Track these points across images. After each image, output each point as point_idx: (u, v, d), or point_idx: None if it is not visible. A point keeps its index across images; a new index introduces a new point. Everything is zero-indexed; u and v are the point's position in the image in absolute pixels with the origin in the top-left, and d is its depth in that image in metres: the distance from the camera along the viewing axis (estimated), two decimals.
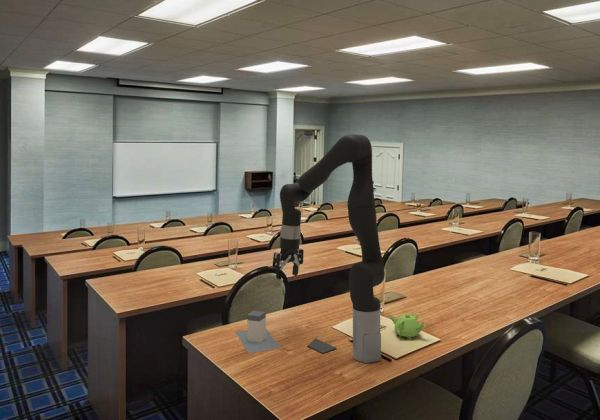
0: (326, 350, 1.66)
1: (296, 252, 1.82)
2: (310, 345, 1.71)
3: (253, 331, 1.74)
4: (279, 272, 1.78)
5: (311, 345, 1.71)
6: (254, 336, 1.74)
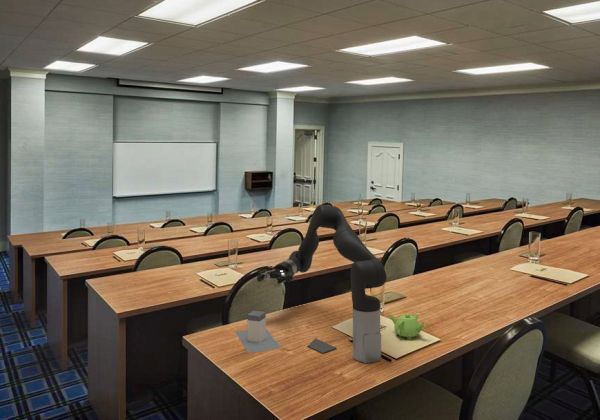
0: (326, 350, 1.66)
1: (285, 272, 1.93)
2: (310, 345, 1.71)
3: (253, 331, 1.74)
4: (260, 275, 1.89)
5: (311, 345, 1.71)
6: (254, 336, 1.74)
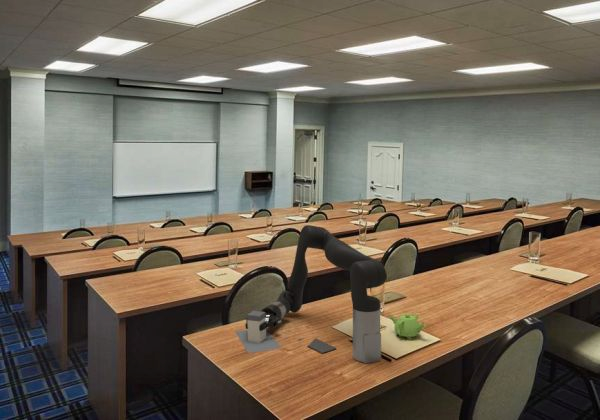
0: (326, 350, 1.66)
1: (273, 316, 1.82)
2: (310, 345, 1.71)
3: (253, 331, 1.74)
4: None
5: (311, 345, 1.71)
6: (254, 336, 1.74)
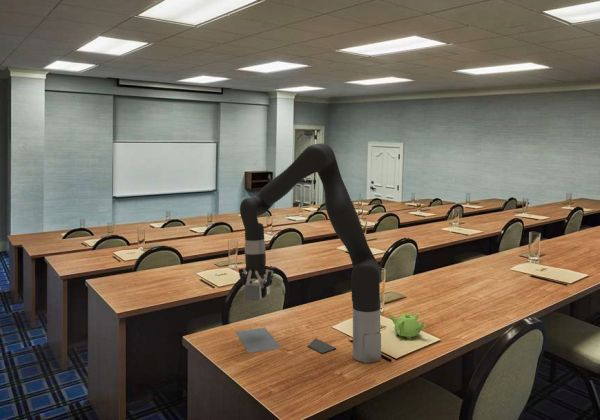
0: (325, 350, 1.66)
1: (261, 270, 1.72)
2: (310, 345, 1.71)
3: None
4: None
5: (311, 345, 1.71)
6: None
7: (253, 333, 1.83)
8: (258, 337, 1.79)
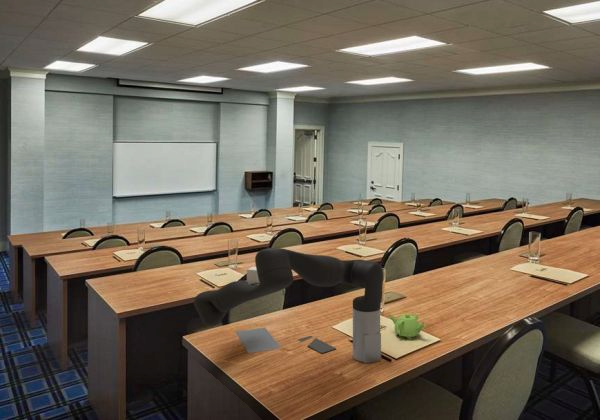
0: (325, 350, 1.66)
1: None
2: (310, 345, 1.71)
3: None
4: None
5: (311, 345, 1.71)
6: None
7: (253, 333, 1.83)
8: (258, 337, 1.79)
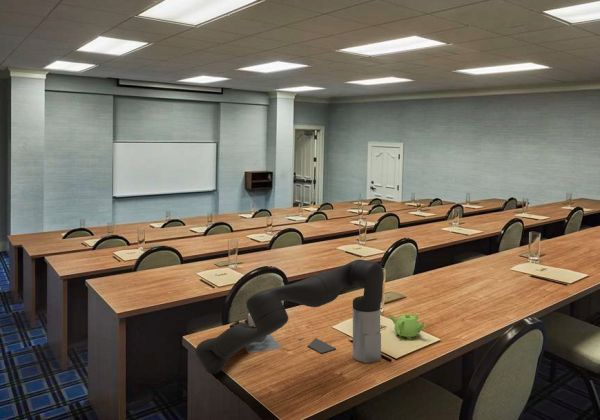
0: (325, 350, 1.66)
1: None
2: (310, 345, 1.71)
3: None
4: None
5: (311, 345, 1.71)
6: None
7: None
8: None
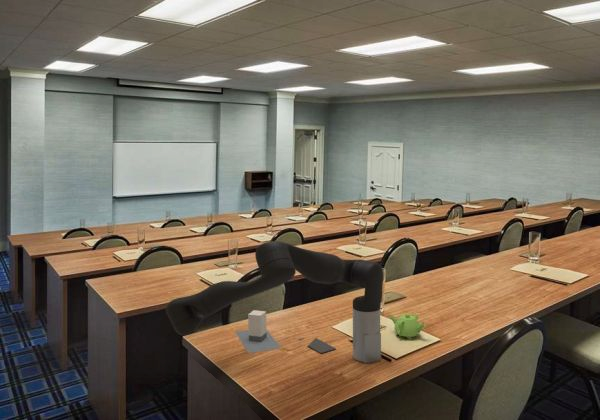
0: (325, 350, 1.66)
1: None
2: (310, 345, 1.71)
3: None
4: None
5: (311, 345, 1.71)
6: None
7: None
8: None
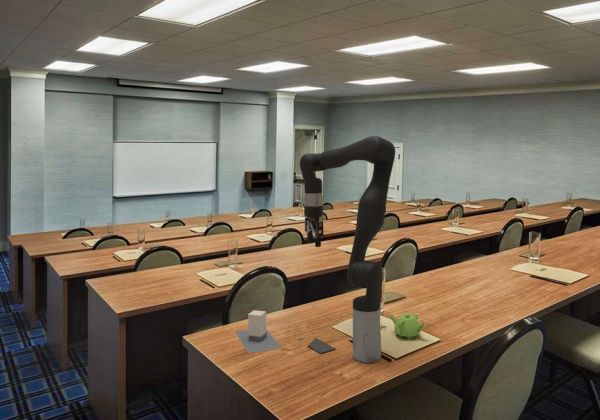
0: (324, 350, 1.66)
1: (313, 222, 1.84)
2: (310, 345, 1.71)
3: None
4: None
5: (311, 345, 1.71)
6: None
7: None
8: None
